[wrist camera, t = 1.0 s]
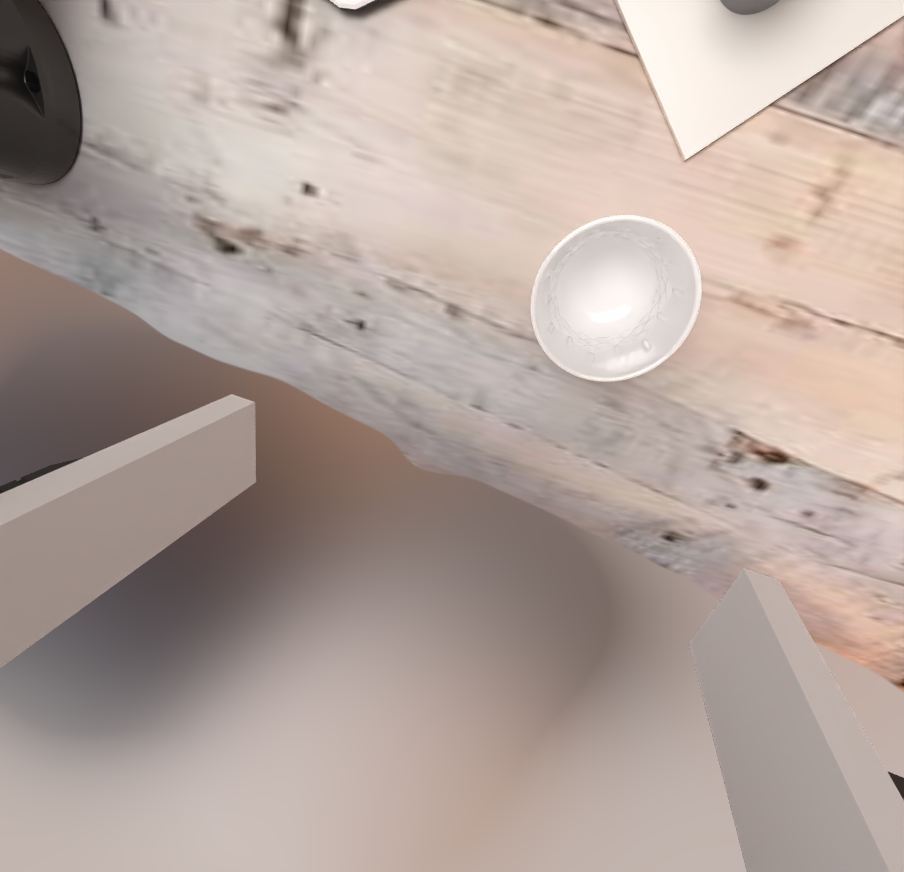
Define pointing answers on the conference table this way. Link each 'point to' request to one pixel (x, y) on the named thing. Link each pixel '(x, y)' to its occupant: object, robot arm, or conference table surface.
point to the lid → (740, 54)
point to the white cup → (616, 298)
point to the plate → (352, 4)
